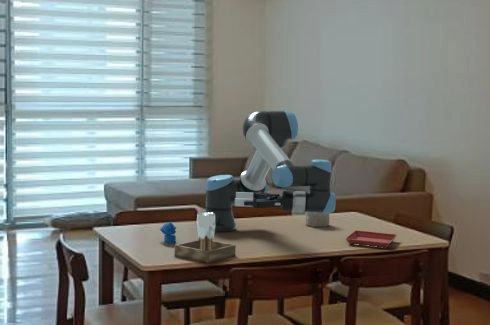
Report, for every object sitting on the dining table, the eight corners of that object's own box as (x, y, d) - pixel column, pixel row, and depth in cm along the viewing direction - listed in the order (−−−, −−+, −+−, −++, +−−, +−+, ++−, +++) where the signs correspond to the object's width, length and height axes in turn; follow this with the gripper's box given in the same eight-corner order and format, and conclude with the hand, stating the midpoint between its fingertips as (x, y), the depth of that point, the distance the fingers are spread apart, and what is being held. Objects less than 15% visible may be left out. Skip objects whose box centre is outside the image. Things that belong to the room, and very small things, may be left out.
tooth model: (195, 251, 285) (196, 211, 283) (214, 251, 286) (215, 212, 284) (196, 255, 278) (196, 215, 276) (215, 255, 279) (216, 215, 277)
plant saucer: (389, 250, 301) (389, 242, 301) (344, 245, 308) (345, 237, 307) (397, 242, 318) (397, 234, 318) (354, 237, 325) (355, 230, 324)
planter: (333, 225, 351) (334, 204, 350) (322, 228, 342) (323, 207, 341) (312, 222, 357) (313, 202, 356) (301, 225, 348) (302, 204, 347)
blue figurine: (171, 222, 311) (183, 220, 301) (172, 242, 310) (184, 241, 300) (155, 223, 307) (167, 222, 298) (156, 244, 307) (168, 243, 297)
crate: (174, 255, 280) (174, 245, 280) (202, 248, 293) (202, 238, 293) (207, 262, 271) (208, 251, 270) (235, 255, 283) (235, 244, 283)
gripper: (294, 218, 267) (233, 215, 267) (291, 205, 292) (236, 202, 292) (295, 197, 266) (234, 194, 266) (292, 185, 291) (236, 183, 291)
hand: (235, 198), depth 279 cm, fingers open, 13 cm apart
